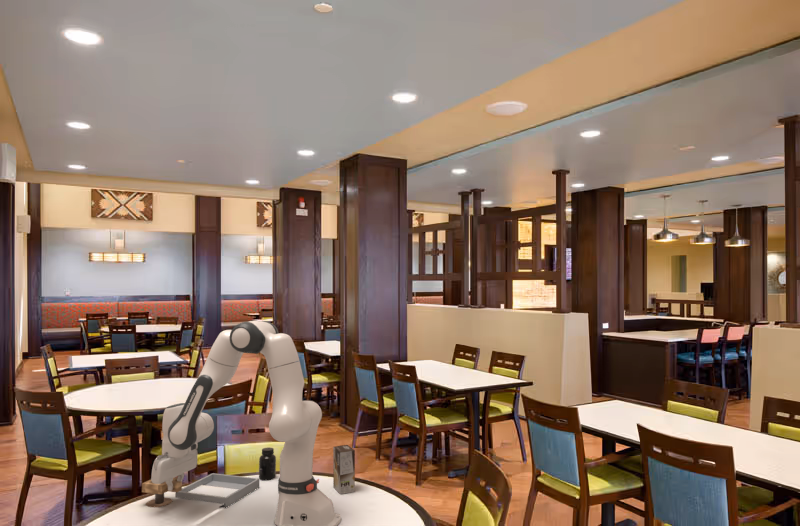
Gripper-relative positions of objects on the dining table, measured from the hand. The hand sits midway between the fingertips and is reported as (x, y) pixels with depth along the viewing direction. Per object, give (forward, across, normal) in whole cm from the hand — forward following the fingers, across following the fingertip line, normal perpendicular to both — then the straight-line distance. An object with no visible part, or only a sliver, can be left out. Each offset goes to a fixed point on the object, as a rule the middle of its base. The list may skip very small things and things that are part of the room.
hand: (174, 488), depth 197 cm
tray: (+7, +17, -6) cm, 20 cm away
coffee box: (+8, +36, -50) cm, 62 cm away
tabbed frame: (+1, 0, +4) cm, 4 cm away
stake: (+7, 0, +7) cm, 10 cm away
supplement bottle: (+8, +39, -14) cm, 42 cm away
